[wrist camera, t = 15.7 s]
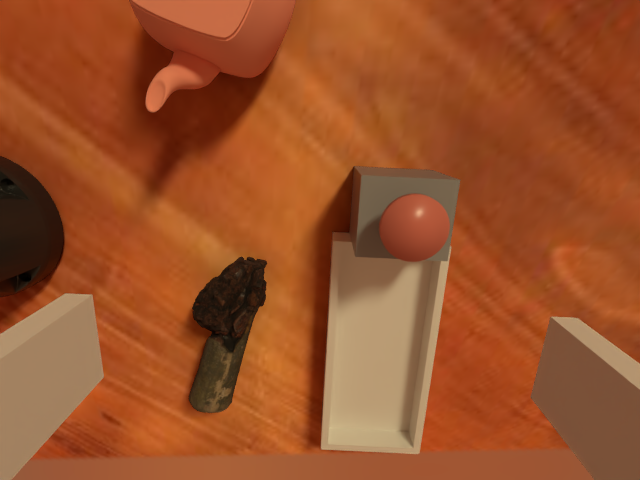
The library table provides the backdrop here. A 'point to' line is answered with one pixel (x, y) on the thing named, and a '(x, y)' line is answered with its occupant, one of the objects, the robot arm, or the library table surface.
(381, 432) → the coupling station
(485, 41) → the library table surface
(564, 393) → the robot arm
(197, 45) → the teapot
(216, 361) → the metal pipe
